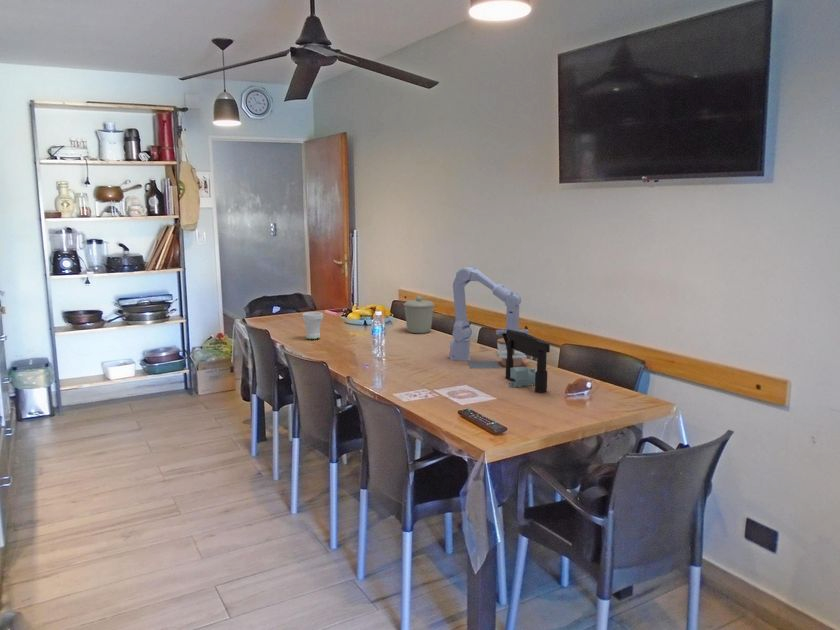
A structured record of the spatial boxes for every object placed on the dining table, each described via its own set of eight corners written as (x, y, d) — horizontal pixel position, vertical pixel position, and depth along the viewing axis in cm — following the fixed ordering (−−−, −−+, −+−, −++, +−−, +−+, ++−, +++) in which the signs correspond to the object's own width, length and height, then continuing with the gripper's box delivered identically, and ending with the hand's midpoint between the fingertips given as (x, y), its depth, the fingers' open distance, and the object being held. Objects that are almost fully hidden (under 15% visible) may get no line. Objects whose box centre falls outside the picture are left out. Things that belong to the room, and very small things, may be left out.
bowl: (503, 367, 299) (503, 357, 298) (500, 362, 308) (500, 353, 307) (522, 367, 299) (523, 357, 298) (519, 362, 308) (519, 353, 307)
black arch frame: (522, 325, 285) (566, 340, 255) (521, 373, 289) (564, 393, 258) (490, 328, 279) (531, 343, 249) (489, 376, 283) (530, 397, 253)
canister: (441, 331, 381) (441, 295, 378) (419, 336, 368) (419, 299, 365) (418, 327, 393) (418, 292, 390) (396, 332, 380) (396, 295, 377)
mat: (469, 369, 295) (469, 368, 295) (467, 361, 309) (467, 361, 309) (500, 369, 295) (500, 368, 295) (496, 361, 309) (496, 361, 309)
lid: (500, 358, 296) (500, 347, 296) (497, 352, 308) (497, 341, 307) (527, 358, 296) (527, 347, 296) (522, 352, 308) (522, 341, 307)
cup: (306, 336, 367) (305, 311, 364) (326, 337, 365) (325, 312, 363) (300, 340, 356) (299, 315, 353) (320, 341, 354) (319, 315, 352)
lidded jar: (518, 358, 316) (518, 339, 314) (495, 357, 318) (496, 338, 316) (519, 353, 326) (520, 335, 324) (497, 352, 328) (498, 334, 327)
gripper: (497, 322, 296) (497, 351, 298) (530, 322, 296) (529, 351, 298) (495, 319, 303) (495, 348, 305) (527, 319, 303) (526, 348, 305)
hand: (511, 349), depth 302 cm, fingers open, 3 cm apart
